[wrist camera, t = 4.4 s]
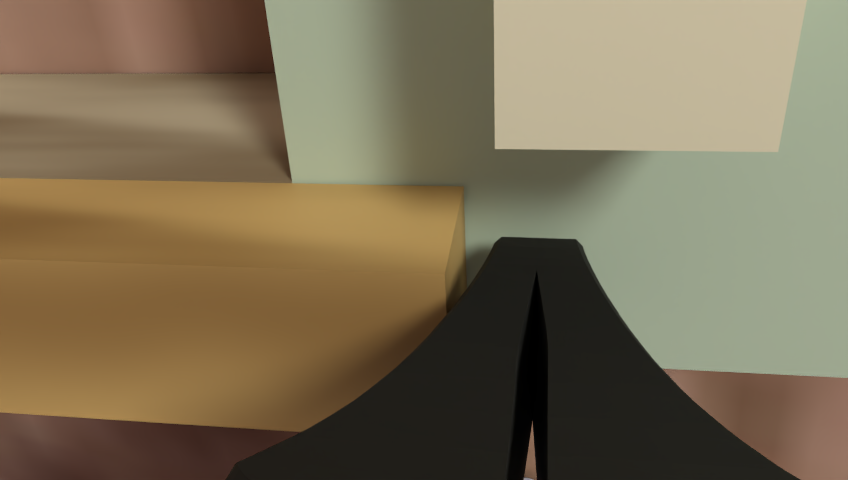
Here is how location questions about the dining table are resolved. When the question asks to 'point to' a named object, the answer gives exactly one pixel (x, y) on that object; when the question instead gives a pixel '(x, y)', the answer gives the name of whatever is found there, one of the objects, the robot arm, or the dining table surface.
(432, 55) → the lid
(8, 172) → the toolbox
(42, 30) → the dining table surface
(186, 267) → the golden block
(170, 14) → the dining table surface
